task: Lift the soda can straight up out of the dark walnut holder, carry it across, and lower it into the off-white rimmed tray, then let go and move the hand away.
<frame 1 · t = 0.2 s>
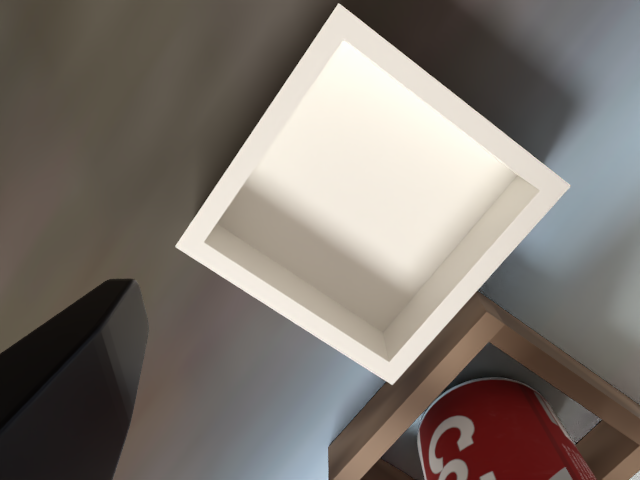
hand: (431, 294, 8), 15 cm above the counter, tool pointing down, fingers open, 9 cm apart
walnut holder: (482, 427, 27), on the counter
rimmed tray: (363, 196, 24), on the counter
soda can: (481, 424, 28), resting in walnut holder
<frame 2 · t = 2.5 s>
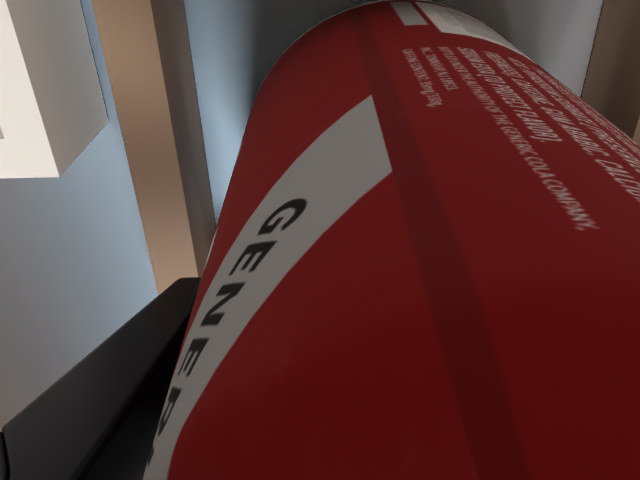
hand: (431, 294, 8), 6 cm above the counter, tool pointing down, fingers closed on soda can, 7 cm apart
walnut holder: (387, 142, 14), on the counter
soda can: (386, 138, 14), resting in walnut holder, touching gripper
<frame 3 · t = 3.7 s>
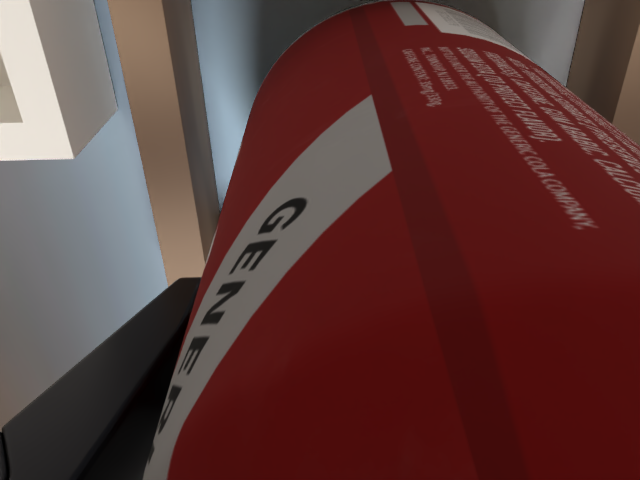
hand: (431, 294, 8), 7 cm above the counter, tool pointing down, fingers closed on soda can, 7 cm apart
walnut holder: (383, 129, 14), on the counter
soda can: (386, 138, 14), point 1 cm above the counter, touching gripper
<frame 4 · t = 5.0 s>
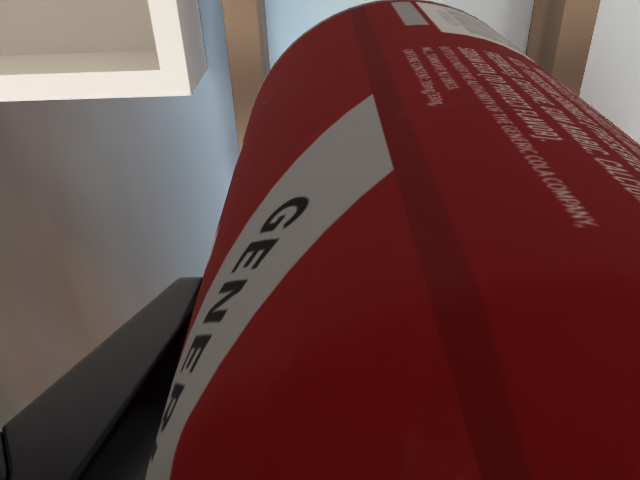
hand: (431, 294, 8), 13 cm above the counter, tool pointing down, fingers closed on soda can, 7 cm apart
walnut holder: (396, 82, 20), on the counter
soda can: (387, 138, 14), point 7 cm above the counter, touching gripper
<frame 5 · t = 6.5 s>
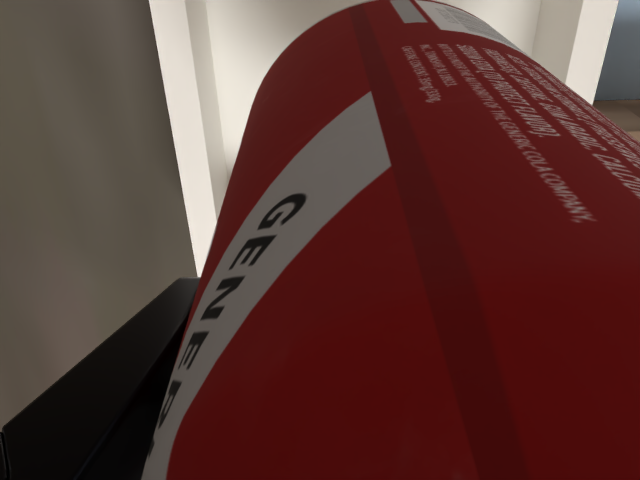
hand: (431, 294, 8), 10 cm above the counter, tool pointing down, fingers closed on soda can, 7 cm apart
rimmed tray: (369, 90, 17), on the counter
soda can: (386, 137, 14), point 3 cm above the counter, touching gripper
when the fingers open (7 cm above the counter, at t = 7.8 s): soda can stays where it is, resting on rimmed tray.
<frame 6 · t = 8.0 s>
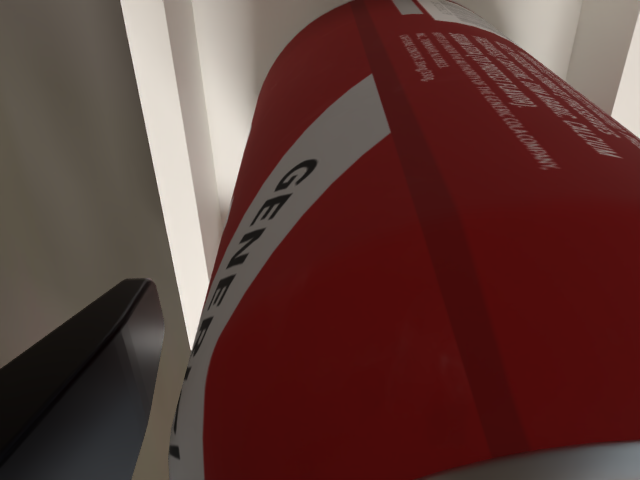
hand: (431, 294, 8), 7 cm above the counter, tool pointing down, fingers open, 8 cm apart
rimmed tray: (380, 120, 15), on the counter
soda can: (385, 125, 14), resting on rimmed tray
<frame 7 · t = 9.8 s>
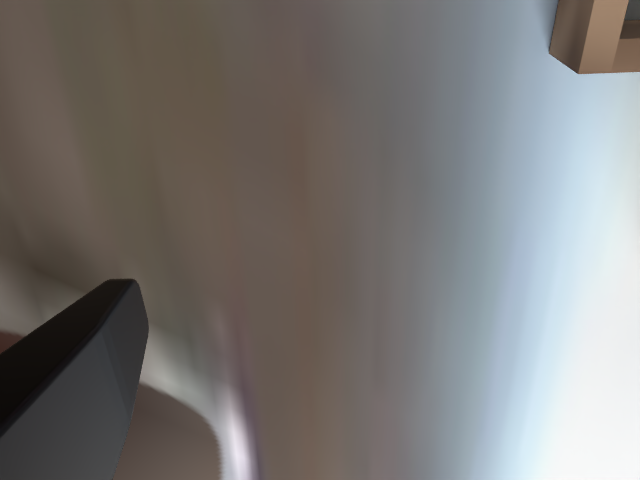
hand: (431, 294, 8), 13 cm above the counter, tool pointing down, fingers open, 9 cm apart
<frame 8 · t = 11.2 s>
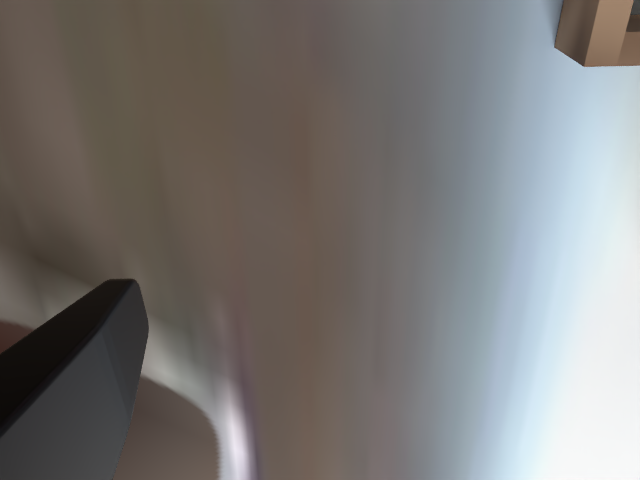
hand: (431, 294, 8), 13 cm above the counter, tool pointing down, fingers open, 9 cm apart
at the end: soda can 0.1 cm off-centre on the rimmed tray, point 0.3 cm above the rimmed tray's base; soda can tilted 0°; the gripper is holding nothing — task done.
